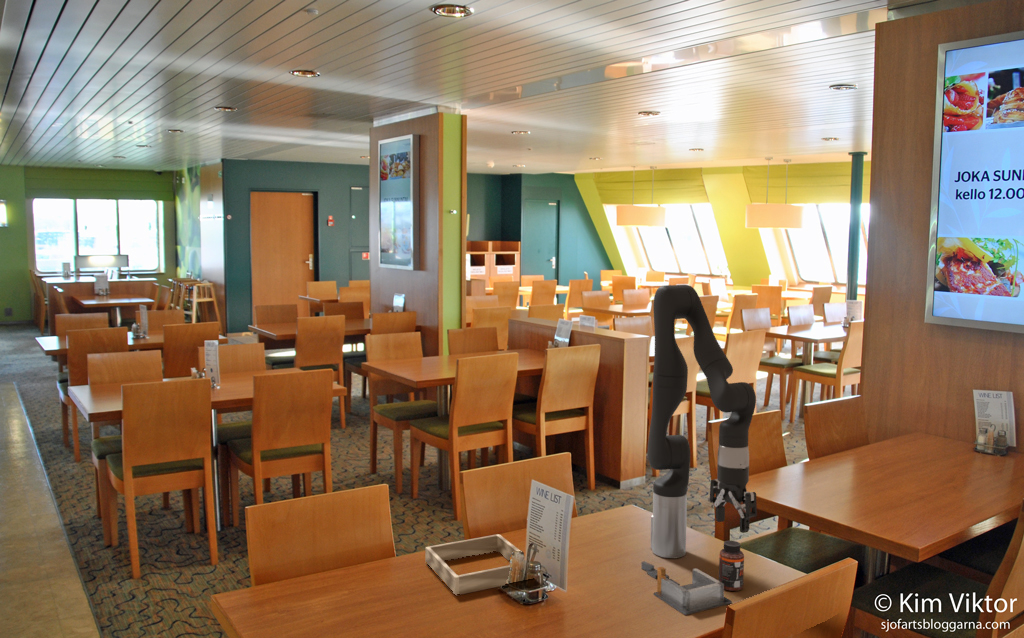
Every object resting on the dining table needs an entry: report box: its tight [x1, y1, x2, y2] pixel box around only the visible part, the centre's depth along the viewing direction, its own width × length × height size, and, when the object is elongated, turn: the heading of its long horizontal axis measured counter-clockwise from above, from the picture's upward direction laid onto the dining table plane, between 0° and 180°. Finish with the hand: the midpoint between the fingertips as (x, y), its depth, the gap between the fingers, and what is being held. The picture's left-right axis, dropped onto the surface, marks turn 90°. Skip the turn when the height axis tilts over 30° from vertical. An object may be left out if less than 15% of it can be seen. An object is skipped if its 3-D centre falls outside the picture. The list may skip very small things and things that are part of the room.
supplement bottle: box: [718, 540, 745, 592], centre depth 190 cm, size 6×6×11 cm
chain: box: [641, 560, 681, 586], centre depth 196 cm, size 14×2×2 cm, turn 26°
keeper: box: [653, 566, 733, 616], centre depth 184 cm, size 12×14×6 cm
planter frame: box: [424, 533, 521, 596], centre depth 200 cm, size 22×22×4 cm
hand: (732, 526), depth 189 cm, fingers open, 8 cm apart
